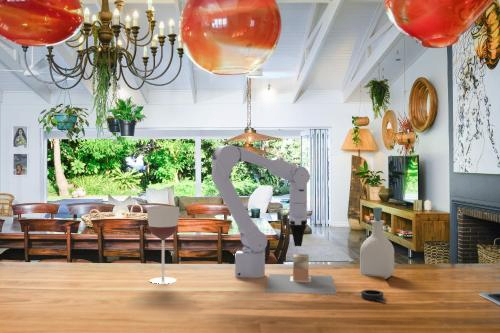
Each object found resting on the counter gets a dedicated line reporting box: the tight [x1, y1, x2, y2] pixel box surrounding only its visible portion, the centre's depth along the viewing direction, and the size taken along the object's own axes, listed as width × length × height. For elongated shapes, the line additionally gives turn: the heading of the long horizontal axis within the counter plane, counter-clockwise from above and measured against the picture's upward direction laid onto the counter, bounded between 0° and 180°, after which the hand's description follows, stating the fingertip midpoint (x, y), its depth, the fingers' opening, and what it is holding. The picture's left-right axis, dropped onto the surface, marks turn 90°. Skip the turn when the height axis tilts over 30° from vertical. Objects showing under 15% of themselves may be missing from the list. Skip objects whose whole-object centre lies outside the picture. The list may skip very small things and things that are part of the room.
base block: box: [292, 268, 309, 281], centre depth 156 cm, size 5×5×4 cm
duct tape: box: [358, 289, 387, 304], centre depth 136 cm, size 8×10×3 cm
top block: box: [292, 253, 310, 270], centre depth 156 cm, size 5×5×4 cm
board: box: [264, 273, 338, 295], centre depth 152 cm, size 20×22×1 cm
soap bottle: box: [359, 206, 395, 280], centre depth 166 cm, size 10×10×23 cm
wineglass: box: [146, 205, 180, 285], centre depth 159 cm, size 9×10×23 cm
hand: (298, 244), depth 166 cm, fingers open, 7 cm apart
